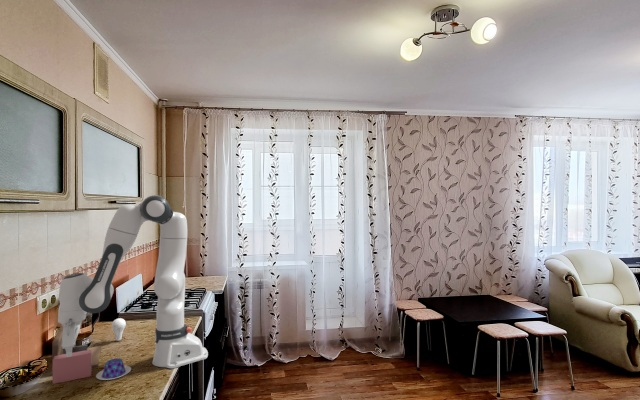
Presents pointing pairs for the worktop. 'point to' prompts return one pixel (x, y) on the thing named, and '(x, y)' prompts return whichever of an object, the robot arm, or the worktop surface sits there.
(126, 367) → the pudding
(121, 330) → the lightbulb
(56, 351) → the shelf stand
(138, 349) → the worktop surface
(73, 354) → the book
